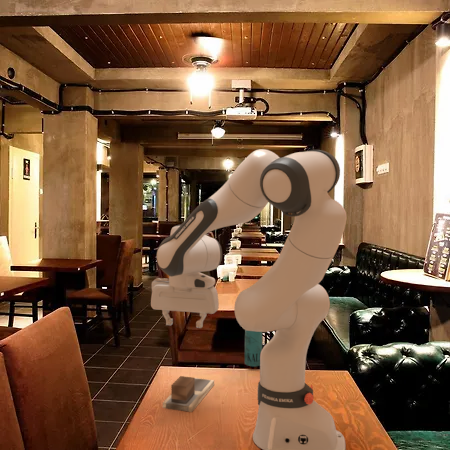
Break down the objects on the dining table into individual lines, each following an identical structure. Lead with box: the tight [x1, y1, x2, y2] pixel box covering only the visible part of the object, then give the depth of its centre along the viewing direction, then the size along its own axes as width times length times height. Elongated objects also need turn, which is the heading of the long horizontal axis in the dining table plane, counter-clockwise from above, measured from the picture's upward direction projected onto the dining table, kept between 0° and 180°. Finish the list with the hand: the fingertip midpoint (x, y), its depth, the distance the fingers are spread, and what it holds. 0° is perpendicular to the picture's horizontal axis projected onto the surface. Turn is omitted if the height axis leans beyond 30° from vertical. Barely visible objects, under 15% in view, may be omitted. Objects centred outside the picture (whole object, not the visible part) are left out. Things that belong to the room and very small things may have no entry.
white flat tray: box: [162, 377, 215, 413], centre depth 137 cm, size 9×20×2 cm, turn 163°
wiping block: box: [170, 375, 196, 404], centre depth 131 cm, size 4×7×5 cm, turn 164°
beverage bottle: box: [243, 329, 264, 367], centre depth 160 cm, size 6×7×20 cm
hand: (184, 326), depth 131 cm, fingers open, 8 cm apart
